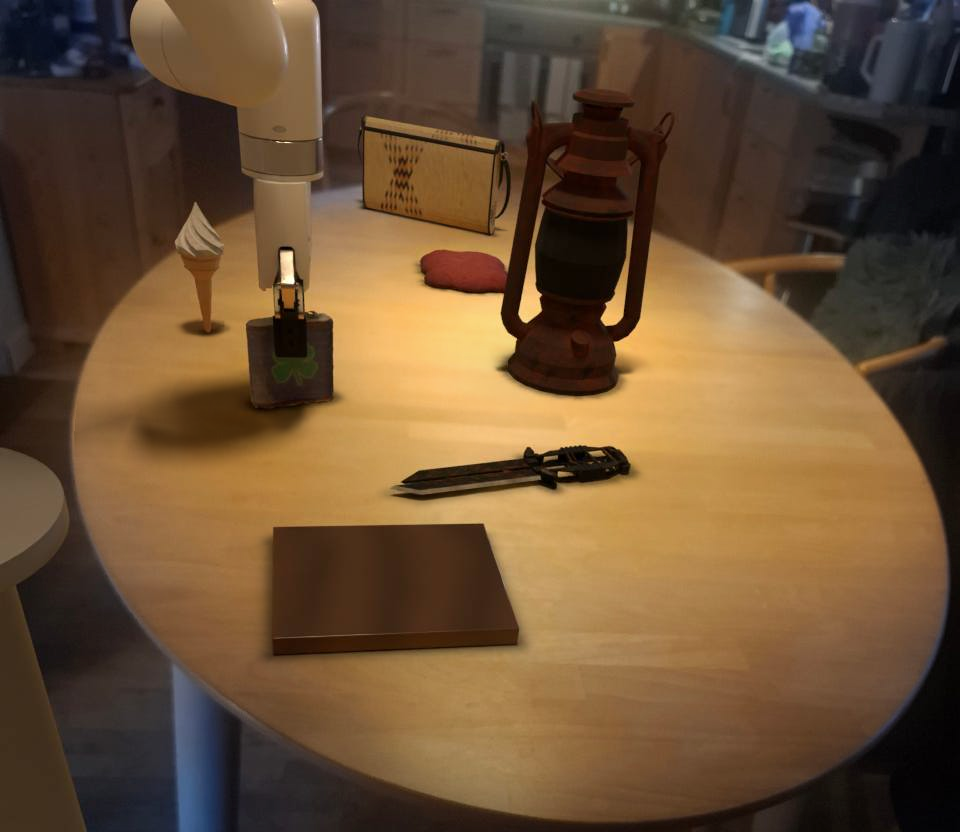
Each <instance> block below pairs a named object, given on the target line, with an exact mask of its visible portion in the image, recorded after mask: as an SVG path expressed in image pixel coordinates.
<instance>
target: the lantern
mask: <svg viewBox="0 0 960 832" xmlns="http://www.w3.org/2000/svg"><path fill="white" fill-rule="evenodd" d="M572 100H573V101H575V102H578V103H581V106H582V111H579V112H574V113H572V116H571V117H572V118H571V122H570V121H569V122H568V121H567V122H565V121H564V122H545V123H544V118H543V117H542V114H541V109H540V107H539V104H538V102H537V101H536V99H535V100H532V101H531V104H530V109H531V118H532V122H531V124H530V128H529V130H528V131H527V133H526V134H525V142H526V149H527V151H526V152H527V160H526V165H525V170H524V177H523V183H522V188H521V194H520V199H519V204H518V209H517V212H518V213H517V217H516V222H515V229H514V234H513V240H512V244H511V245H512V246H511V250H510V251H511V252H510V258H509V263H508V267H507V279H506V285H505V290H504V292H503V297H502V302H501V308H500V318H501V322H502V325H503V327H504V329H505V330H506V332H507V334H509V335H510V336H512V337H513V338H515V339H516V341H515V346H514V352H513V353H512V354H511V356H510V357H509V358H508V359H507V369H508V370H507V371H508V373H509V374H510V376H512V377H513V379H514V380H516V381H518V382H519V383H521V384H522V385H525V386H527V387H530V388H532V389H535V390H538V391H541V392H546V393H551V394H556V395H561V396H563V395H564V396H575V397H577V396H593V395H597V394H602V393H605V392H608V391H610V390H612V389H613V388H614V387H615V386H616V385H617V382H618V380H619V372H618V369H617V367H616V366H615V365H616V360H617V349H616V345H615V343H617V342H620V341H621V340H624V339H626V338H627V337H629V336H630V334H631V333H633V332H634V330H635V329H636V327H637V325H638V324H639V322H640V319H641V317H642V316H641V315H642V308H643V300H644V292H645V285H646V277H647V270H648V261H649V252H650V246H651V238H652V230H653V223H654V215H655V207H656V199H657V191H658V183H659V175H660V169H661V164H662V162H663V159H664V157H665V154H666V152H667V150H668V148H669V147H668V142H667V139H668V137H669V136H670V134H671V131H672V130H673V127H674V124H675V120H676V115H675V114H676V113H675V112H674V111H673V110H668V111H667V112H666V113H665V114H664V115H663V116H662V118H661V119H660V121H659V123H658V124H657V125H656V126H655V127H654V128H653V130H650V129H644V128H639V127H634V126H629V124H630V120H629V119H628V118H626V117H622V116H621V115H622V113H623V111H624V109H629V108H634V107H635V104H636V100H635V99H634V98H632V97H631V96H630V95H628V94H627V93H625V92H621V91H618V90H613V89H612V90H611V89H605V88H593V87H592V88H590V87H587V88H582V89H580V90H578V91H576V92H574V93H572ZM669 116H670V117H671V118H670V122H669V126H668V129H667V131H666V133H664V129H663V125H664V122H665V121H666V119H667V118H668V117H669ZM564 146H565V149H564V151H563V152H562V153H561V154H560V156H558V158H556V159H554V158H552V157H550V156H551V155H552V154H553V153H554V152H555V151H556V150H558V149H560V148H562V147H564ZM628 151H630V152H631V153H633V154H632V155H631V156H630V157H628V158H627V153H628ZM638 161H639V162H640V168H639V174H638V175H639V176H638V186H637V193H636V201H635V202H636V203H635V204H634V203H633V201H632V200H631V198H630V197H629V195H628V194H627V193H626V192H625V191H624V189H622V187H620V186H619V185H618V179H619V177H620V178H621V177H627V176H628V177H629V176H631V175H633V173H634V172H633V169H632V167H631V166H633V165H634V164H635V163H637V162H638ZM547 166H548V168H549V169H551V171H552V172H554V174H556V175H557V176H558V177H559V179H560V181H558V182H556V183H555V184H553V185H552V186H550V187H549V188H547V190H546V191H544V192H543V193H542V190H543V185H544V180H545V175H546V169H547ZM541 197H542V199H541ZM540 202H541V205H542V206H544V210H543V213H542V216H541V219H540V223H539V226H538V230H537V235H536V239H535V243H534V271H535V273H534V274H535V283H534V285H535V289H536V291H537V292H538V293H539V294H540V296H539V303H540V308H541V311H540V312H539V313H537V314H536V315H535V316H534V317H533V318H531V319H529V320H528V322H526V321H525V322H524V321H523V320H522V318H521V317H520V315H519V313H520V309H521V308H520V307H521V304H522V303H521V301H522V297H523V292H524V286H525V281H526V276H527V271H528V266H529V259H530V255H531V251H532V250H531V249H532V245H533V239H534V234H535V228H536V223H537V218H538V217H537V216H538V212H539V206H540ZM634 209H635V211H634ZM633 215H634V219H633V227H632V237H631V245H630V251H629V252H630V254H629V262H628V270H627V278H626V286H625V287H626V288H625V294H624V295H625V296H624V305H623V306H624V307H623V312H622V313H623V314H622V317H621V319H619V321H618V322H617V323H615V324H611V325H610V324H609V325H605V323H604V322H603V320H602V317H603V315H604V313H605V312H606V310H607V307H608V306H607V303H609V302H611V301H612V300H613V298H614V296H615V295H616V289H617V286H618V283H619V280H620V278H621V275H622V272H623V269H624V266H625V262H626V259H627V250H628V234H629V233H628V232H629V231H628V230H629V229H628V226H629V225H628V221H629V219H628V218H630V217H632V216H633Z"/></svg>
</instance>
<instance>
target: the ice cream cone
mask: <svg viewBox="0 0 960 832" xmlns="http://www.w3.org/2000/svg"><path fill="white" fill-rule="evenodd" d="M222 242H223V240H222V238H221V237H220V235H219V234H218V233H217V232H216V230H215V229H214V228H213V227H212V225H211V223H210V221H209V220H208V219H207V217H205V215H204V213H203V212H202V210H201V209H200V206H199V205H198V204H197V202H196V201H194V203H193V206H192V209H191V210H190V213H189V216H188V217H187V219H186V221H185V222H184V224H183V226H182V228H181V230H180V232H179V233H178V235H177V238H176V239H175V241H174V244H175V248H176V251H177V254H179V255H180V258H181V259H182V263H183V267H184V268H185V269H186V270H187V271H188V272H190V274H191V275H192V277H193V278H194V282H195V288H196V289H195V290H196V295H197V299H198V303H199V310H200V314H201V317H202V323H203V328H204V331H205V332H206V333H208V334H209V333H210V332H211V329H212V328H211V327H212V292H213V291H212V285H213V283H212V279H213V277H214V275H215V273H216V272H217V270H219V269H220V264H221V259H222V257H221V256H223V254H224V250H225V244H223V243H222Z"/></svg>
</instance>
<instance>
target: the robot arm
mask: <svg viewBox="0 0 960 832" xmlns="http://www.w3.org/2000/svg"><path fill="white" fill-rule="evenodd" d="M317 7H318V6H316V4H315V3H314V2H313V0H137V1H136V2H135V5H134V7H133V9H132V12H131V17H130V21H129V22H130V24H129V30H130V31H129V32H130V33H129V35H130V38H131V43H132V46H133V50H134V52H135V54H136V56H137V58H138V60H139V61H140V63H141V64H142V65H143V67H144V68H145V69H146V70H147V71H148V72H149V73H150V74H151V75H152V76H153V77H154V78H156V79H157V80H158V81H160V82H161V83H163V84H164V85H166V86H169V87H171V88H173V89H175V90H177V91H181V92H184V93H188V94H191V95H195V96H198V97H203V98H207V99H210V100H214V101H217V102H220V103H223V104H226V105H230V106H233V107H236V114H237V126H238V127H237V129H238V138H239V139H238V140H239V150H240V151H239V153H240V163H241V164H240V167H241V173H242V174H244V175H245V176H247V177H250V178H253V214H254V216H253V217H254V231H255V232H254V233H255V245H256V260H257V261H256V262H257V276H258V288H259V289H260V290H261V291H262V292H266V291H267V289H272V291H273V292H272V293H273V311H274V315H272V317H273V330H274V347H275V355H276V356H277V357H282V358H305V357H307V354H308V353H307V326H306V316H304V312H306V311H305V310H306V308H305V307H306V305H305V293H306V292H307V291H308V290H309V289H310V283H311V282H310V281H311V267H312V265H311V264H312V241H313V239H312V237H313V235H312V233H313V232H312V229H313V228H312V227H313V225H312V182H313V181H318V180H321V178H323V177H324V147H323V146H324V141H323V140H324V139H323V96H322V95H323V94H322V93H323V92H322V91H323V90H322V88H323V87H322V52H321V51H322V50H321V49H322V47H321V46H322V45H321V44H322V43H321V20H320V13H319V10H318V8H317Z"/></svg>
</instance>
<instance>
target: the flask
mask: <svg viewBox="0 0 960 832" xmlns="http://www.w3.org/2000/svg"><path fill="white" fill-rule="evenodd" d="M304 316H306V326H307V353H308V354H307V357H305V358H282V357H277V356H276V355H275V347H274V330H273V316H268V317H262V318H261V317H259V318H253V319H249V320H248V321H246V322H245V332H246V333H245V334H246V343H247V345H246V346H247V347H246V348H247V358H248V360H247V361H248V374H249V375H248V376H249V386H250V387H249V389H250V390H249V391H250V402H251V405H252V406H253V407H254V408H255V409H259V408H263V409H275V407H277V408H278V407H293V406H297V405H299V404H310V403H320V402H329V401H331V400H333V399H334V390H335V389H334V385H335V384H334V368H335V366H334V320H333V318H332V317H331V316H330V315H328V314H326V313H324V312H321V313H320V312H319V313H318V312H316V311H315V310H308V311H305V312H304Z"/></svg>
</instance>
